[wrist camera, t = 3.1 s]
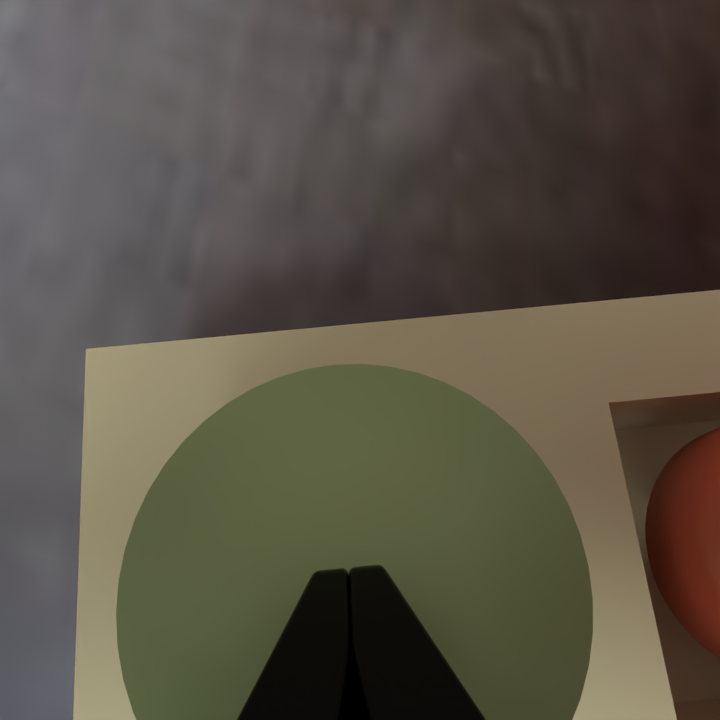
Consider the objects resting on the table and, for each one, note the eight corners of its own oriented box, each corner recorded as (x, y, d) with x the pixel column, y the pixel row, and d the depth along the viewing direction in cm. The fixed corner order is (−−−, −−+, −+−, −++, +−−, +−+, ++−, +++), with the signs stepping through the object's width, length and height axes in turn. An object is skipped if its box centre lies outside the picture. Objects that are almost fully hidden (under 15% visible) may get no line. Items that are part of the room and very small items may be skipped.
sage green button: (526, 731, 13) (640, 841, 8) (222, 761, 13) (110, 898, 8) (480, 433, 15) (546, 345, 10) (214, 459, 15) (119, 385, 9)
